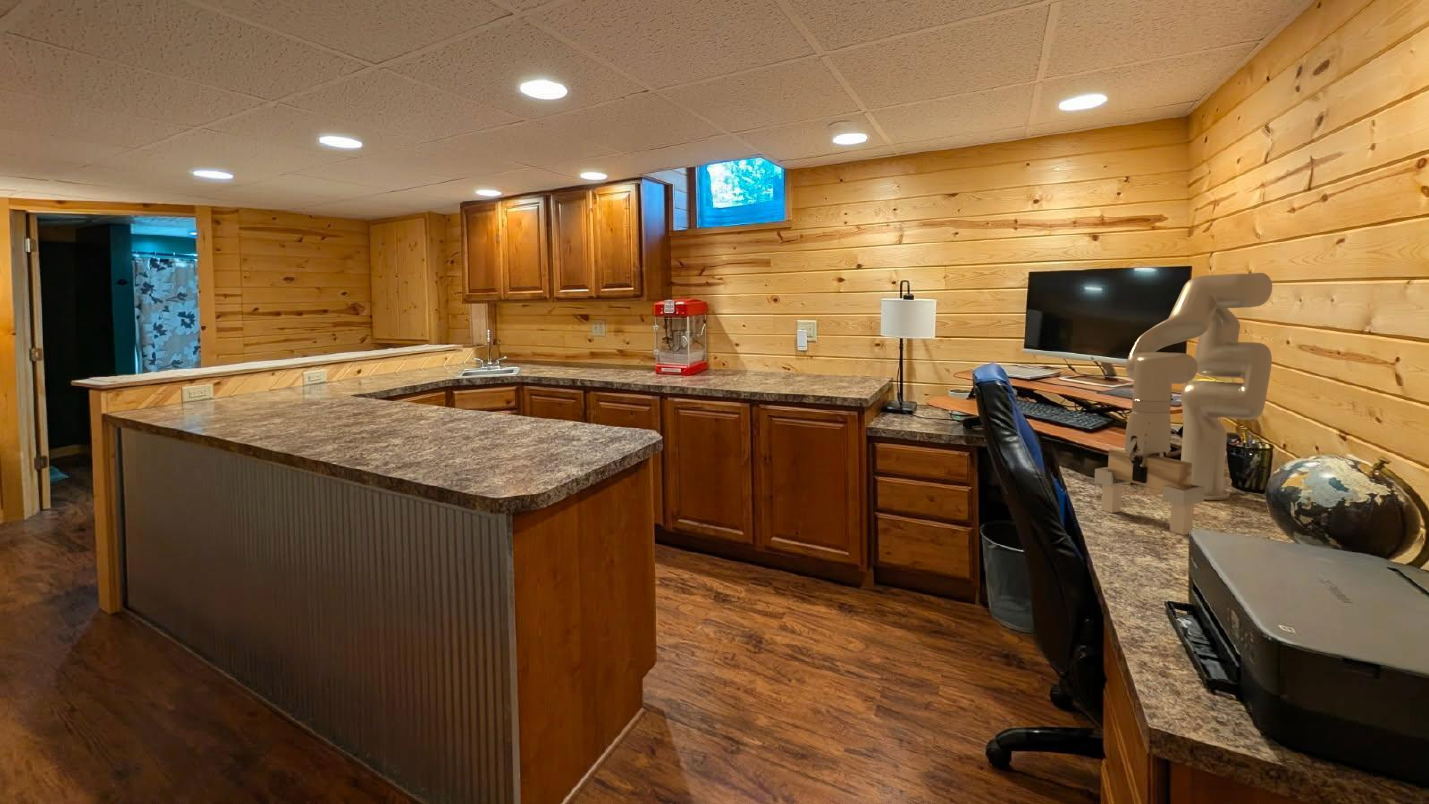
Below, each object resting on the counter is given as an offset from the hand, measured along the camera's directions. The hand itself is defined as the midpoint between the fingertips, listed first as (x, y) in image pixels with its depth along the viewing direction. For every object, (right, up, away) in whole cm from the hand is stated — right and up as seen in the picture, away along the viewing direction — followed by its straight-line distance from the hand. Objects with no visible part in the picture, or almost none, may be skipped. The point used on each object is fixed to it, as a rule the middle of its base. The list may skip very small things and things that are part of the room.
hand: (1146, 479), depth 151 cm
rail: (0, -1, 0) cm, 1 cm away
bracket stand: (0, -10, +1) cm, 10 cm away
